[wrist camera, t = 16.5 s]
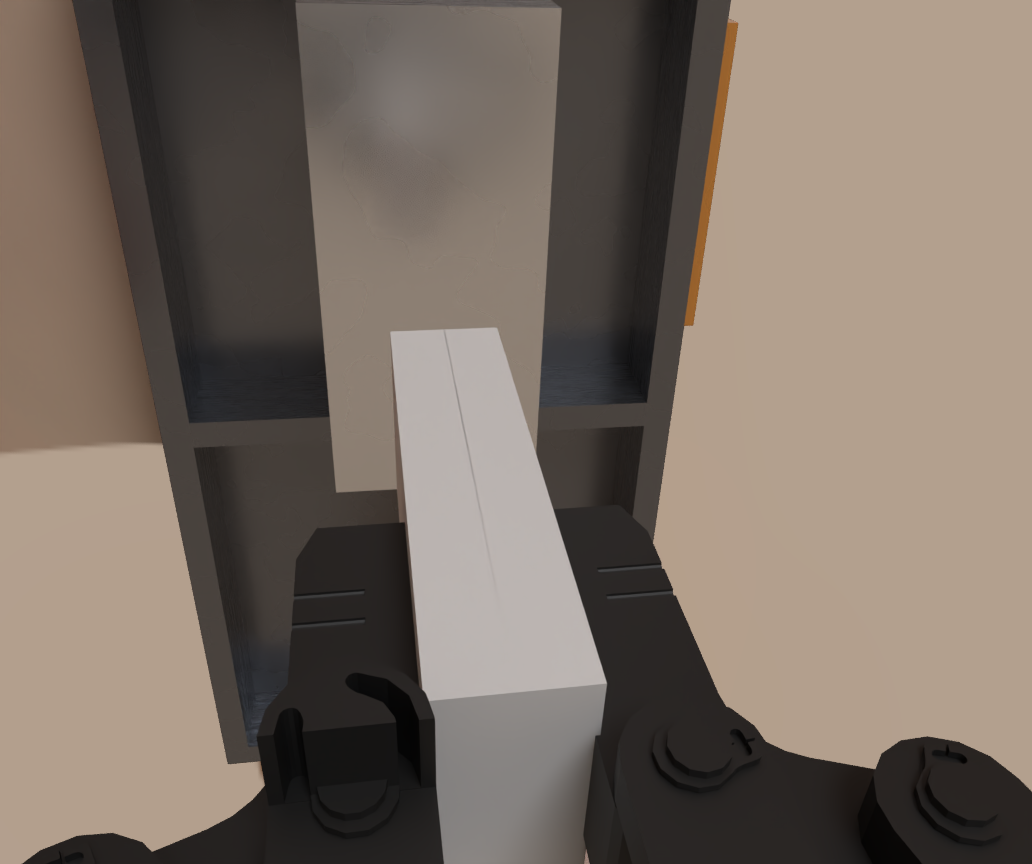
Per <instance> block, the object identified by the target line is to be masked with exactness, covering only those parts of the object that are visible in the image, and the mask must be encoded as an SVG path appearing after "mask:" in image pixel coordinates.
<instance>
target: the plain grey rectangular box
mask: <svg viewBox="0 0 1032 864" xmlns="http://www.w3.org/2000/svg"><path fill="white" fill-rule="evenodd" d="M295 5H296V17H297V29H298V41H299V53H300V65H301V77H302V89H303V101H304V113H305V125H306V137H307V149H308V161H309V173H310V185H311V197H312V209H313V221H314V233H315V245H316V257H317V269H318V281H319V293H320V305H321V317H322V329H323V341H324V353H325V365H326V377H327V389H328V401H329V413H330V425H331V437H332V449H333V461H334V473H335V485H336V492H354V491H373V490H392V489H397V479H396V456H395V433H394V410H393V387H392V364H391V341H390V332H391V331H418V330H444V329H471V328H497V329H498V332H499V336H500V339H501V342H502V345H503V349H504V352H505V355H506V358H507V361H508V365H509V368H510V371H511V374H512V378H513V381H514V384H515V387H516V391H517V394H518V397H519V400H520V404H521V407H522V410H523V413H524V417H525V420H526V423H527V426H528V429H529V433H530V436H531V439H532V442H533V446H534V449H535V452H536V446H537V429H538V411H539V394H540V376H541V359H542V342H543V324H544V307H545V289H546V272H547V255H548V237H549V220H550V202H551V185H552V167H553V150H554V133H555V115H556V98H557V80H558V63H559V46H560V28H561V11H562V8H561V7H559V6H558V5H557V4H555V3H554V2H553V1H552V0H296V3H295Z"/></svg>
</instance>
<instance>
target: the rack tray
mask: <svg viewBox="0 0 1032 864" xmlns="http://www.w3.org/2000/svg"><path fill="white" fill-rule="evenodd" d="M72 1H73V6H74V11H75V15H76V20H77V25H78V30H79V35H80V40H81V45H82V50H83V55H84V60H85V65H86V70H87V74H88V79H89V84H90V89H91V94H92V99H93V104H94V109H95V114H96V119H97V124H98V128H99V133H100V138H101V143H102V148H103V153H104V158H105V163H106V168H107V173H108V178H109V183H110V187H111V192H112V197H113V202H114V207H115V212H116V217H117V222H118V227H119V232H120V237H121V241H122V246H123V251H124V256H125V261H126V266H127V271H128V276H129V281H130V286H131V291H132V296H133V300H134V305H135V310H136V315H137V320H138V325H139V330H140V335H141V340H142V345H143V350H144V354H145V359H146V364H147V369H148V374H149V379H150V384H151V389H152V394H153V399H154V404H155V409H156V413H157V418H158V423H159V428H160V433H161V438H162V443H163V448H164V453H165V457H166V463H167V467H168V472H169V477H170V482H171V487H172V492H173V497H174V501H175V507H176V512H177V517H178V522H179V526H180V531H181V536H182V541H183V546H184V551H185V555H186V560H187V566H188V571H189V576H190V580H191V585H192V590H193V595H194V600H195V605H196V610H197V614H198V620H199V624H200V630H201V635H202V639H203V644H204V649H205V654H206V659H207V664H208V668H209V674H210V679H211V684H212V689H213V693H214V698H215V703H216V708H217V713H218V718H219V723H220V728H221V733H222V737H223V743H224V748H225V752H226V757H227V762H228V764H236V763H246V762H257V761H261V760H260V754H259V749H258V743H257V738H256V736H257V733H258V730H259V727H260V724H261V721H262V718H263V715H264V712H265V709H266V708H267V707H268V706H269V705H270V703H271V702H272V701H273V700H274V699H275V698H276V697H277V695H278V694H279V693H280V692H281V691H282V690H283V689H284V688H285V686H286V685H287V684H288V670H289V655H290V640H291V631H292V611H293V601H294V582H295V567H296V559H297V557H298V556H299V554H300V553H301V551H302V550H303V548H304V547H305V545H306V544H307V542H308V541H309V539H310V538H311V536H312V535H313V533H314V532H315V530H316V529H317V528H328V527H342V526H357V525H371V524H386V523H400V522H399V509H398V496H397V489H392V490H373V491H354V492H336V485H335V473H334V461H333V449H332V437H331V425H330V413H329V401H328V389H327V377H326V365H325V353H324V341H323V329H322V317H321V305H320V293H319V281H318V269H317V257H316V245H315V233H314V221H313V209H312V197H311V185H310V173H309V161H308V149H307V137H306V125H305V113H304V101H303V89H302V77H301V65H300V53H299V41H298V29H297V17H296V5H295V3H296V0H72ZM552 1H553V2H554V3H555V4H557V5H558V6H559V7H561V8H562V11H561V28H560V46H559V63H558V80H557V98H556V115H555V133H554V150H553V167H552V185H551V202H550V220H549V237H548V255H547V272H546V289H545V307H544V324H543V342H542V359H541V376H540V394H539V411H538V429H537V446H536V455H537V459H538V462H539V465H540V468H541V472H542V475H543V478H544V481H545V484H546V488H547V491H548V494H549V497H550V501H551V504H552V507H553V509H564V508H579V507H593V506H608V505H620V506H621V507H622V508H623V509H624V510H625V511H626V512H627V513H628V514H630V515H631V516H632V517H633V518H634V519H635V520H636V521H637V522H638V523H639V524H641V525H642V526H643V527H644V528H645V529H646V530H647V531H648V533H649V535H650V538H651V540H652V542H653V539H654V532H655V525H656V518H657V510H658V504H659V496H660V490H661V483H662V476H663V469H664V462H665V455H666V448H667V441H668V434H669V427H670V421H671V414H672V407H673V400H674V392H675V385H676V379H677V371H678V365H679V357H680V350H681V344H682V337H683V330H684V326H690V325H691V326H692V325H693V323H694V316H695V310H696V303H697V296H698V290H699V283H700V276H701V270H702V263H703V256H704V249H705V243H706V236H707V229H708V223H709V216H710V209H711V203H712V196H713V189H714V182H715V175H716V168H717V162H718V155H719V149H720V142H721V135H722V128H723V122H724V115H725V109H726V102H727V95H728V89H729V81H730V75H731V69H732V62H733V55H734V48H735V42H736V35H737V28H738V23H737V22H735V21H733V20H731V19H729V18H728V16H729V10H730V2H731V0H552Z"/></svg>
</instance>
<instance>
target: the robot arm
mask: <svg viewBox="0 0 1032 864" xmlns="http://www.w3.org/2000/svg"><path fill="white" fill-rule="evenodd" d="M390 341H391V364H392V387H393V410H394V433H395V456H396V479H397V496H398V509H399V522H400V523H386V524H371V525H357V526H342V527H328V528H317V529H316V530H315V532H314V533H313V535H312V536H311V538H310V539H309V541H308V542H307V544H306V545H305V547H304V548H303V550H302V551H301V553H300V554H299V556H298V557H297V559H296V567H295V582H294V601H293V611H292V631H291V640H290V655H289V670H288V684H287V685H286V686H285V688H284V689H283V690H282V691H281V692H280V693H279V694H278V695H277V697H276V698H275V699H274V700H273V701H272V702H271V703H270V705H269V706H268V707H267V708H266V709H265V712H264V715H263V718H262V721H261V724H260V727H259V730H258V733H257V736H256V738H257V743H258V749H259V754H260V760H261V766H262V771H263V777H264V783H265V786H264V787H263V788H262V790H261V791H260V792H259V793H258V794H257V796H256V797H255V798H254V799H253V800H252V801H251V802H249V803H248V804H247V805H246V806H245V807H243V808H242V809H241V810H239V811H238V812H237V813H236V814H234V815H233V816H232V817H230V818H228V819H226V820H224V821H222V822H220V823H219V824H216V825H214V826H213V827H211V828H209V829H207V830H204V831H202V832H200V833H197V834H195V835H192V836H190V837H187V838H185V839H183V840H180V841H178V842H175V843H173V844H170V845H168V846H166V847H163V848H161V849H158V850H156V851H153V852H151V851H150V850H149V849H148V848H147V847H146V845H145V844H144V843H143V842H140V841H137V840H134V839H130V838H127V837H124V836H120V835H118V834H114V833H107V834H94V835H82V836H76V837H73V838H71V839H69V840H66V841H63V842H60V843H58V844H55V845H53V846H50V847H48V848H45V849H43V850H40V851H39V852H37V853H36V854H35V855H33V856H32V857H31V858H29V859H28V860H27V861H25V862H24V863H23V864H584V860H585V852H586V849H587V854H588V858H589V862H590V864H1032V792H1031V791H1030V790H1029V789H1028V788H1027V787H1026V786H1025V785H1024V784H1023V783H1022V782H1021V781H1020V780H1019V779H1018V778H1017V777H1016V776H1015V775H1013V774H1012V773H1011V772H1010V771H1008V770H1007V769H1006V768H1004V767H1003V766H1002V765H1001V764H999V763H998V762H997V761H995V760H994V759H993V758H991V757H990V756H988V755H986V754H984V753H982V752H979V751H977V750H975V749H973V748H971V747H968V746H966V745H964V744H962V743H960V742H955V741H950V740H944V739H938V738H933V737H921V738H915V739H908V740H901V741H899V742H898V743H897V744H895V745H894V746H892V747H891V748H889V749H888V750H886V751H885V752H884V753H882V754H881V757H880V759H879V762H878V764H877V767H876V769H870V768H865V767H859V766H853V765H847V764H842V763H836V762H831V761H825V760H820V759H814V758H809V757H805V756H801V755H798V754H794V753H791V752H787V751H784V750H782V749H780V748H778V747H776V746H774V745H771V744H769V743H767V742H766V741H765V740H764V739H763V737H762V736H761V734H760V733H759V732H758V730H757V729H756V727H755V726H754V725H753V724H751V723H750V722H749V721H747V720H746V719H744V718H743V717H742V716H740V715H739V714H738V713H736V712H735V711H734V710H732V709H731V708H729V707H726V706H725V704H724V702H723V700H722V699H721V697H720V696H719V694H718V692H717V689H716V687H715V685H714V682H713V680H712V678H711V675H710V673H709V671H708V668H707V666H706V664H705V662H704V660H703V657H702V655H701V652H700V650H699V648H698V645H697V643H696V641H695V639H694V636H693V634H692V632H691V630H690V627H689V625H688V623H687V620H686V618H685V616H684V613H683V611H682V609H681V607H680V604H679V602H678V600H677V597H676V596H674V595H673V588H672V586H671V583H670V581H669V579H668V577H667V574H666V572H665V570H664V569H662V566H661V561H660V558H659V556H658V554H657V551H656V549H655V547H654V544H653V542H652V540H651V538H650V535H649V533H648V531H647V530H646V529H645V528H644V527H643V526H642V525H641V524H639V523H638V522H637V521H636V520H635V519H634V518H633V517H632V516H631V515H630V514H628V513H627V512H626V511H625V510H624V509H623V508H622V507H621V506H620V505H608V506H593V507H579V508H564V509H553V507H552V504H551V501H550V497H549V494H548V491H547V488H546V484H545V481H544V478H543V475H542V472H541V468H540V465H539V462H538V459H537V455H536V452H535V449H534V446H533V442H532V439H531V436H530V433H529V429H528V426H527V423H526V420H525V417H524V413H523V410H522V407H521V404H520V400H519V397H518V394H517V391H516V387H515V384H514V381H513V378H512V374H511V371H510V368H509V365H508V361H507V358H506V355H505V352H504V349H503V345H502V342H501V339H500V336H499V332H498V329H497V328H471V329H444V330H418V331H391V332H390Z"/></svg>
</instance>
